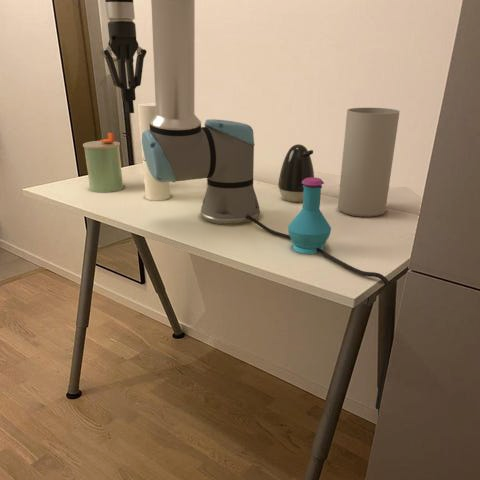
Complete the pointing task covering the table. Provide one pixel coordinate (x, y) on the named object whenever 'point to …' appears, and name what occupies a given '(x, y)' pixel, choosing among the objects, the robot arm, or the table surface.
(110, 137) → the lid slider
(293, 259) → the table surface
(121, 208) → the table surface
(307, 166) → the pump dispenser
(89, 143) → the green lidded canister
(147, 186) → the cylindrical container
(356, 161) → the cylinder vase
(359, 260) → the table surface
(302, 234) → the perfume bottle
